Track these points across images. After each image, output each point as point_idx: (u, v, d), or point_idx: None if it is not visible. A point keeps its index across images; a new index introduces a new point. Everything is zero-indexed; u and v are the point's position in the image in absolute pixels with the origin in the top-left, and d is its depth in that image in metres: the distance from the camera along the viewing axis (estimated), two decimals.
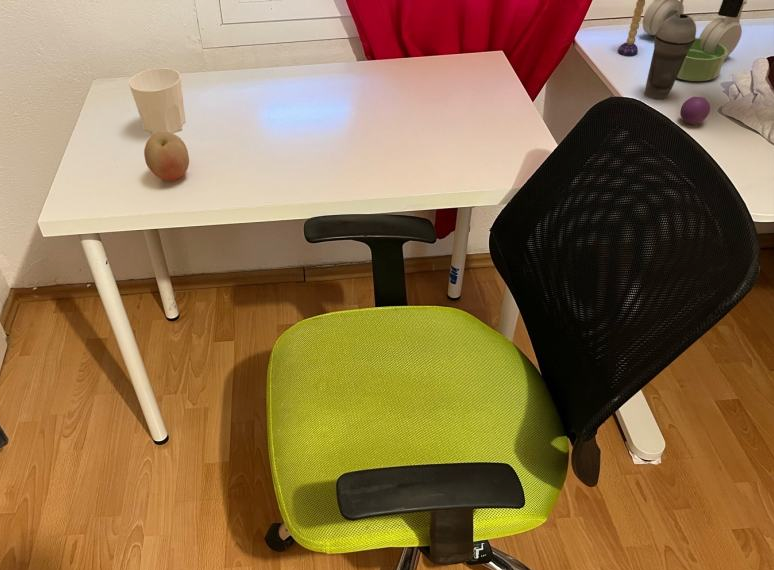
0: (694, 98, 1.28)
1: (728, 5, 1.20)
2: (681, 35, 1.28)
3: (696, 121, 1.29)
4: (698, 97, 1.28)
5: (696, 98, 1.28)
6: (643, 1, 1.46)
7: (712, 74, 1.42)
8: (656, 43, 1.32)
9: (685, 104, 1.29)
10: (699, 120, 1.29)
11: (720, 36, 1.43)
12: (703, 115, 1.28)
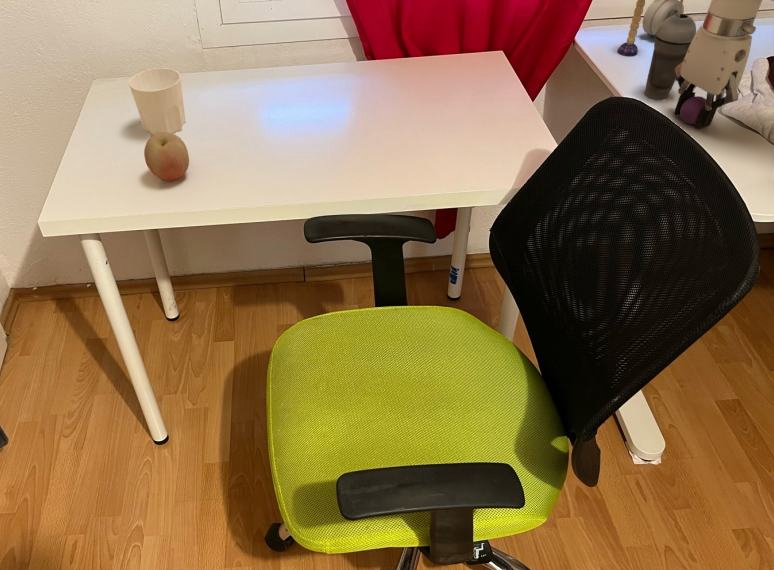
0: (694, 98, 1.28)
1: (708, 119, 1.27)
2: (681, 35, 1.28)
3: None
4: (698, 97, 1.28)
5: (696, 98, 1.28)
6: (643, 1, 1.46)
7: None
8: (656, 43, 1.32)
9: (685, 104, 1.29)
10: None
11: None
12: None
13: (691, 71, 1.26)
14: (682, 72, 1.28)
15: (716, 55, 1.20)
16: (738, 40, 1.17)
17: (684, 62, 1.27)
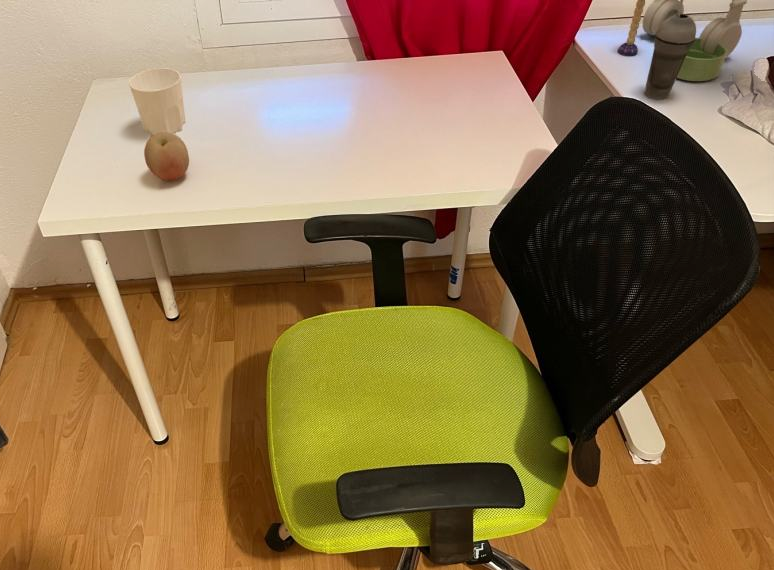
0: None
1: None
2: (681, 35, 1.28)
3: None
4: None
5: None
6: (643, 1, 1.46)
7: (712, 74, 1.42)
8: (656, 43, 1.32)
9: None
10: None
11: (720, 36, 1.43)
12: None
13: None
14: None
15: None
16: None
17: None
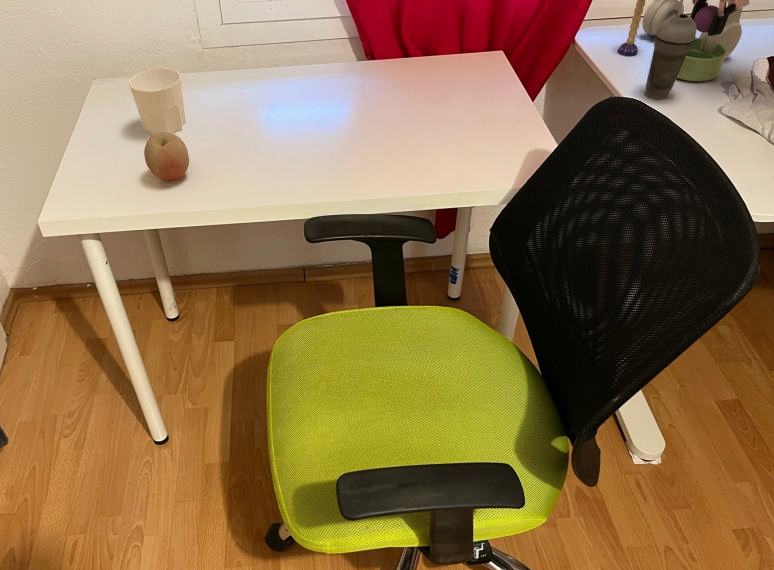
0: (707, 6, 1.37)
1: (720, 25, 1.36)
2: (681, 35, 1.28)
3: None
4: (711, 6, 1.37)
5: (709, 6, 1.37)
6: (643, 1, 1.46)
7: (712, 74, 1.42)
8: (656, 43, 1.32)
9: (698, 13, 1.38)
10: None
11: (720, 36, 1.43)
12: None
13: None
14: None
15: None
16: None
17: None
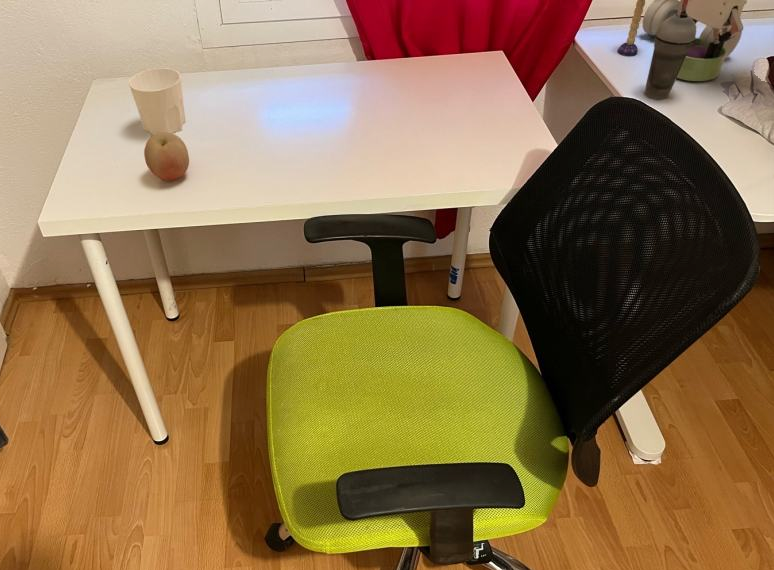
0: (696, 47, 1.42)
1: (715, 52, 1.39)
2: (681, 35, 1.28)
3: None
4: (699, 46, 1.42)
5: (697, 47, 1.42)
6: (643, 1, 1.46)
7: (712, 74, 1.42)
8: (656, 43, 1.32)
9: None
10: None
11: None
12: None
13: (696, 8, 1.38)
14: (687, 10, 1.40)
15: None
16: None
17: (689, 1, 1.39)
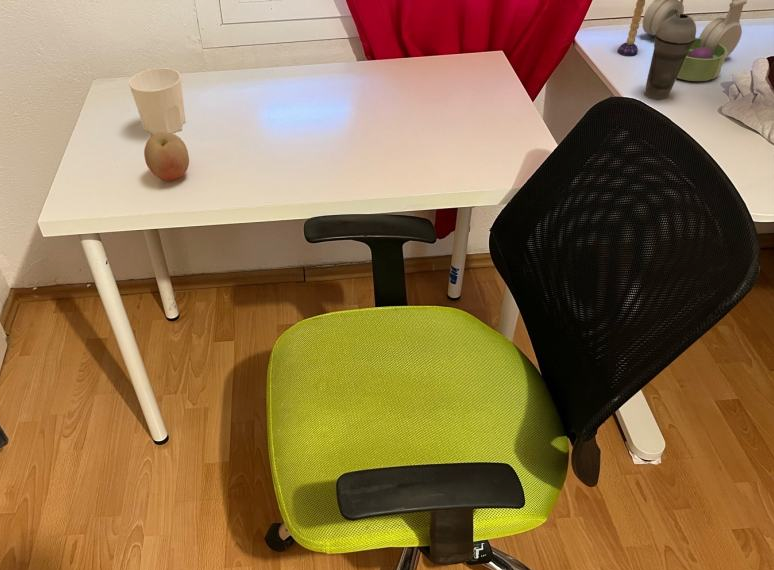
0: (703, 51, 1.41)
1: None
2: (681, 35, 1.28)
3: None
4: (706, 51, 1.41)
5: (704, 52, 1.41)
6: (643, 1, 1.46)
7: (712, 74, 1.42)
8: (656, 43, 1.32)
9: (693, 54, 1.42)
10: None
11: (720, 36, 1.43)
12: None
13: None
14: None
15: None
16: None
17: None
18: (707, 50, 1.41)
